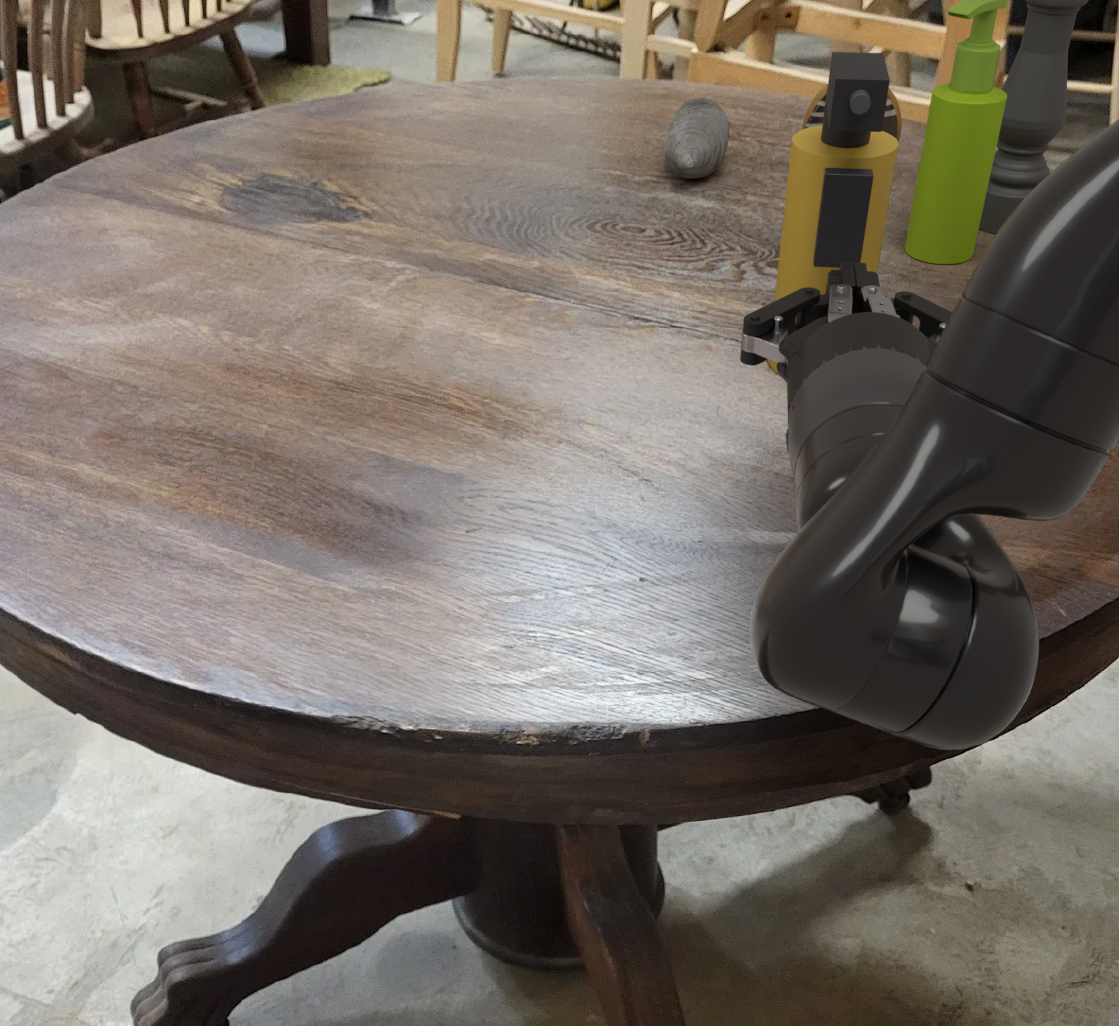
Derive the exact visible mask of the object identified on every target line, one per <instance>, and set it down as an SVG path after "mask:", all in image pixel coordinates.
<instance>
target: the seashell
mask: <svg viewBox="0 0 1119 1026" xmlns="http://www.w3.org/2000/svg"><path fill="white" fill-rule="evenodd" d="M667 130H668V131H667V136H666V139H665V141H664V153H663V154H664V159H665V164H666V165H667V167H668V169H670V170H671V172H673V174H674V175H676V176H679V177H680V178H684V179H689V180H691V179H692V180H695V179H701V178H705V177H707V176H709V175H711V174H712V173H713V172H714V171H715V170H716V169H717V168H718V167H719V165H720V164H721V163H722V161H724V158H725V156H726V153H727V150H728V145H729V141H730V140H729V138H730V123H729V119H728V116H727V113H726V112H725V110H724V109H723V108H722V107H721V105H719V104H718V103H717V102H716V101H715V100H712V99H710V98H706V97H699V98H693V99H690V100H689V99H688V100H686V101H685V102H684V103H683V104H681V105H680V106H679V107H678V108H677V109H676V112H675V115H674V117H673V118H672V120H671V122H670V123H669V127H668V129H667Z"/></svg>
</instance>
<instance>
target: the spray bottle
mask: <svg viewBox="0 0 1119 1026" xmlns="http://www.w3.org/2000/svg"><path fill="white" fill-rule="evenodd" d="M890 79H891V78H890V75H889V71H888V67H887V64H886V59H885V56H884V53H883V52H853V51H851V52H850V51H846V52H845V51H832V52H831V57H830V66H829V74H828V82H827V84H828V89H827V93H826V101H825V109H824V117H823V125H821V126H814V127H810V128H806V129H803V128H802V129H801V130H799V131H797V132H795V133H794V134H793V135H792V137H791V144H790V153H789V163H788V170H787V171H788V172H787V180H786V189H785V198H784V199H785V200H784V207H783V208H784V209H783V217H782V227H781V236H780V244H779V245H780V246H779V252H778V253H779V255H778V263H777V271H776V273H777V274H776V281H775V282H776V283H775V292H774V300H773V302H774V301H776V300H779V299H781V298H783V297H785V296H787V295H789V294H791V293H793V292H795V291H797V290H799V289H801V288H805V287H811V288H816V289H818V290H819V291H820V295H822V294H825V293H826V286H827V279H828V273H829V272H830V271H831V270H839V268H834V267H814V265H813V256H814V248H815V240H816V233H817V225H818V217H819V209H820V201H821V193H822V185H823V178H824V170H825V168H851V169H872V170H873V175H874V178H873V184H872V191H871V197H870V204H869V210H868V217H867V223H866V230H865V236H864V243H863V249H862V256H861V262H860V263H866V267H867V271H874V272H875V273H876V274H877V275H879V274H878V273H879V266H880V261H881V255H882V249H883V242H884V236H885V232H886V231H885V230H886V225H887V218H888V212H889V206H890V200H891V194H892V187H893V182H894V175H895V170H896V163H897V158H898V157H897V156H898V150H899V143H898V141H897V139H896V138H895V137H893V136H892V135H890V134H888V133H886V132H883V131H882V128H883V122H884V115H885V109H886V102H887V96H888V89H890V81H891V80H890ZM795 322H796V319H795ZM767 362H768V365H769V368H770V369H772V370H773V372H774V373H776V374H777V375H779V374H778V371H777V362H775V361H772V360H770V359H768V360H767Z"/></svg>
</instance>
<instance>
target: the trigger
mask: <svg viewBox="0 0 1119 1026" xmlns="http://www.w3.org/2000/svg"><path fill="white" fill-rule="evenodd" d="M873 178H874V175H873V170H872V169H851V168H825V170H824V178H823V185H822V193H821V201H820V209H819V217H818V225H817V233H816V240H815V248H814V256H813V265H814V267H834V268H840V263H841V262H853V263H860V262H861V256H862V249H863V243H864V236H865V230H866V223H867V217H868V210H869V204H870V197H871V191H872V184H873Z"/></svg>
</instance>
